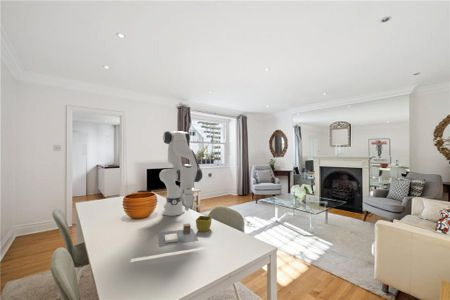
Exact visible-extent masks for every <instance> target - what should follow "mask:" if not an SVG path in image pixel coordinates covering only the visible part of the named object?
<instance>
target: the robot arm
mask: <svg viewBox="0 0 450 300" xmlns="http://www.w3.org/2000/svg"><path fill="white" fill-rule="evenodd" d="M162 140H163V143H164V144H166V145H168V147H167V162H168V163H169V164H170V165H172V168H165V169H162V170H161V171H160V172H159V175H158V176H159V179H160V181H161V182H163V183H164V185H165V187H166V199H165V201H166V203H165V204H164V205H163V208H164V209H163V210H162V213H161V215H164V216H168V217H169V216H171V217H173V216H178V215H179V216H180V215H182V214H183V213H185V211H187V212H188V211H190V210H189V208H191V207H192V206H193V204H194V203H193V202H194V194H195V184H194V183H199V182H200V181H202V179H203V171H202V169H201V167H200V164H199V162H198V160H197V157H196V154H195V152H194V150H193V149H191V148H190V146H189V145H188V144H189V143H190V140H191V136H190V133H189V132H186V131H178V130H176V131H175V130H173V131H172V130H171V131H169V130H168V131H165V132H163V135H162ZM182 158H185V159H187V160H188V161H190V164H189V163H185V164H184V163H183V164H182ZM176 181H177V182H178V183H180V184H179V185H177V184H176ZM182 201H183V202H182ZM183 204H184V210H183Z"/></svg>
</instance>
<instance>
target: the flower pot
mask: <svg viewBox="0 0 450 300" xmlns="http://www.w3.org/2000/svg"><path fill="white" fill-rule="evenodd" d="M212 219H213V218H212V216H208V215H199V216H198V217H197V218H196V219H195V225H196V230H197V231H198V232H204V233H207V232H209V230H210V228H211V226H212Z"/></svg>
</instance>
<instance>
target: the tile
mask: <svg viewBox="0 0 450 300" xmlns="http://www.w3.org/2000/svg"><path fill="white" fill-rule="evenodd" d="M175 241H178V237H177V234H176V233H175V234H168V235H165V243H168V242H175Z"/></svg>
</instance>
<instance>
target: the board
mask: <svg viewBox="0 0 450 300" xmlns="http://www.w3.org/2000/svg"><path fill="white" fill-rule="evenodd" d="M175 233H176V234H177V237H178V241H175V242H168V243H165V235H168V234H175ZM157 236H158V247H166V246H171V245H172V246H173V245H179V244H181V245H182V244H187V243H193V242H199V239H198V237H197V235H196V233H195V232H194V229H193V228H191V230H190V232H184V230H183V229H177V230H169V231H160V232H158V233H157Z"/></svg>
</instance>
